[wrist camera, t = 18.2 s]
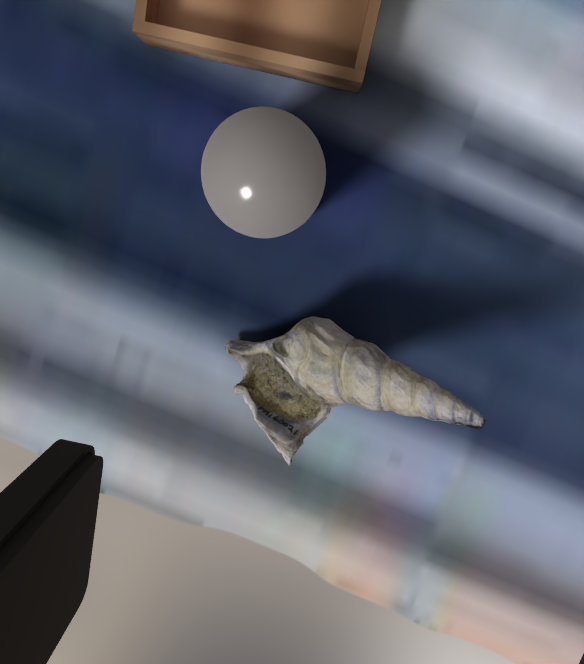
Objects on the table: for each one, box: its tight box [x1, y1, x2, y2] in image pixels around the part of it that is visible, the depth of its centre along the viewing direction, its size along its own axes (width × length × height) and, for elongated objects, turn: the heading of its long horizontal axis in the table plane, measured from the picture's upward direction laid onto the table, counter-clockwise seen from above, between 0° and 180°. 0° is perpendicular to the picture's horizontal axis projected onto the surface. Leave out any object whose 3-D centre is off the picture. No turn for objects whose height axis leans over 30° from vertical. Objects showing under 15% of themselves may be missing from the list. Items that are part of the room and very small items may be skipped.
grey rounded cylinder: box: [201, 107, 326, 238], centre depth 32 cm, size 7×7×9 cm
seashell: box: [225, 316, 486, 465], centre depth 35 cm, size 10×17×10 cm, turn 70°
